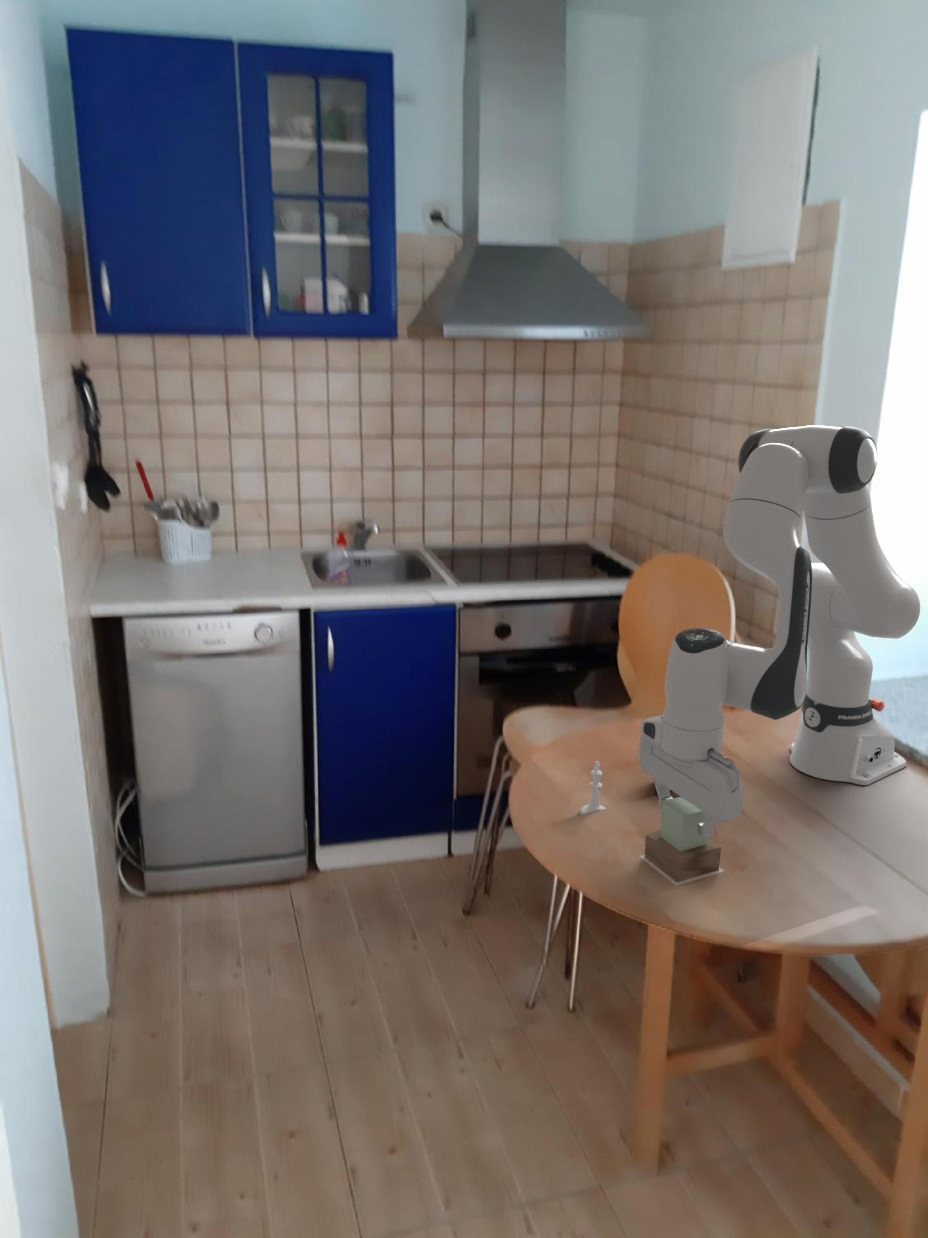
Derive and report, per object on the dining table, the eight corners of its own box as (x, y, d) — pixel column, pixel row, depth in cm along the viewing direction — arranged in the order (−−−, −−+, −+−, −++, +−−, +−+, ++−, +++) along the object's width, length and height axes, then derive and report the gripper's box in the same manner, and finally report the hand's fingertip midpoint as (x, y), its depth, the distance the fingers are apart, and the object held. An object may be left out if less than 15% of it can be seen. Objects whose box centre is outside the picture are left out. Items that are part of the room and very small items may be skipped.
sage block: (685, 829, 149) (688, 795, 147) (706, 844, 144) (709, 809, 143) (659, 836, 147) (662, 801, 145) (680, 851, 142) (683, 815, 141)
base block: (685, 845, 152) (687, 823, 151) (718, 870, 145) (721, 847, 144) (644, 857, 148) (646, 834, 147) (676, 882, 142) (678, 858, 140)
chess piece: (613, 812, 165) (616, 760, 162) (601, 824, 161) (604, 770, 158) (587, 805, 168) (590, 753, 165) (575, 816, 164) (577, 763, 161)
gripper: (757, 761, 133) (748, 848, 137) (666, 711, 151) (660, 789, 155) (722, 769, 130) (713, 858, 134) (633, 717, 148) (629, 797, 152)
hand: (684, 821), depth 145 cm, fingers open, 8 cm apart
